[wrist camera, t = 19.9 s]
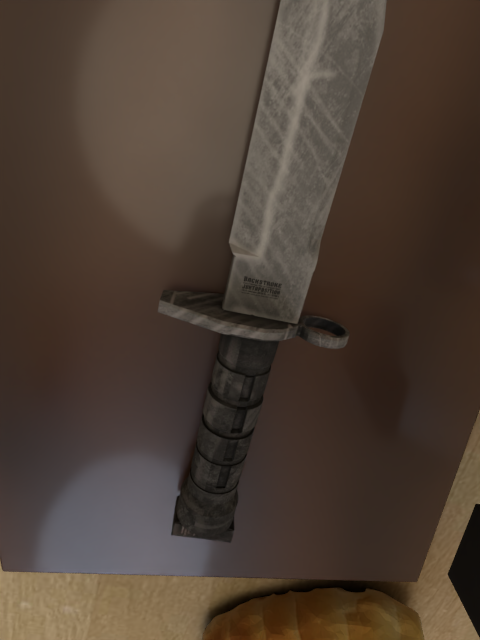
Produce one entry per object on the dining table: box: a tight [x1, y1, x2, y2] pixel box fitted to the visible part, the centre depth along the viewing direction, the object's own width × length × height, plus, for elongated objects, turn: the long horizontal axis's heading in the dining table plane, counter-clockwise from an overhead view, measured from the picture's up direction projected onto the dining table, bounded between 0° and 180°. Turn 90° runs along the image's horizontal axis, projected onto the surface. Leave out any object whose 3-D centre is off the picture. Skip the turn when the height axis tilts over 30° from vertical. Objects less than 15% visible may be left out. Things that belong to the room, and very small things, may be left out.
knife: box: [158, 0, 387, 543], centre depth 11 cm, size 19×2×5 cm
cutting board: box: [0, 0, 480, 582], centre depth 12 cm, size 16×24×1 cm, turn 175°
